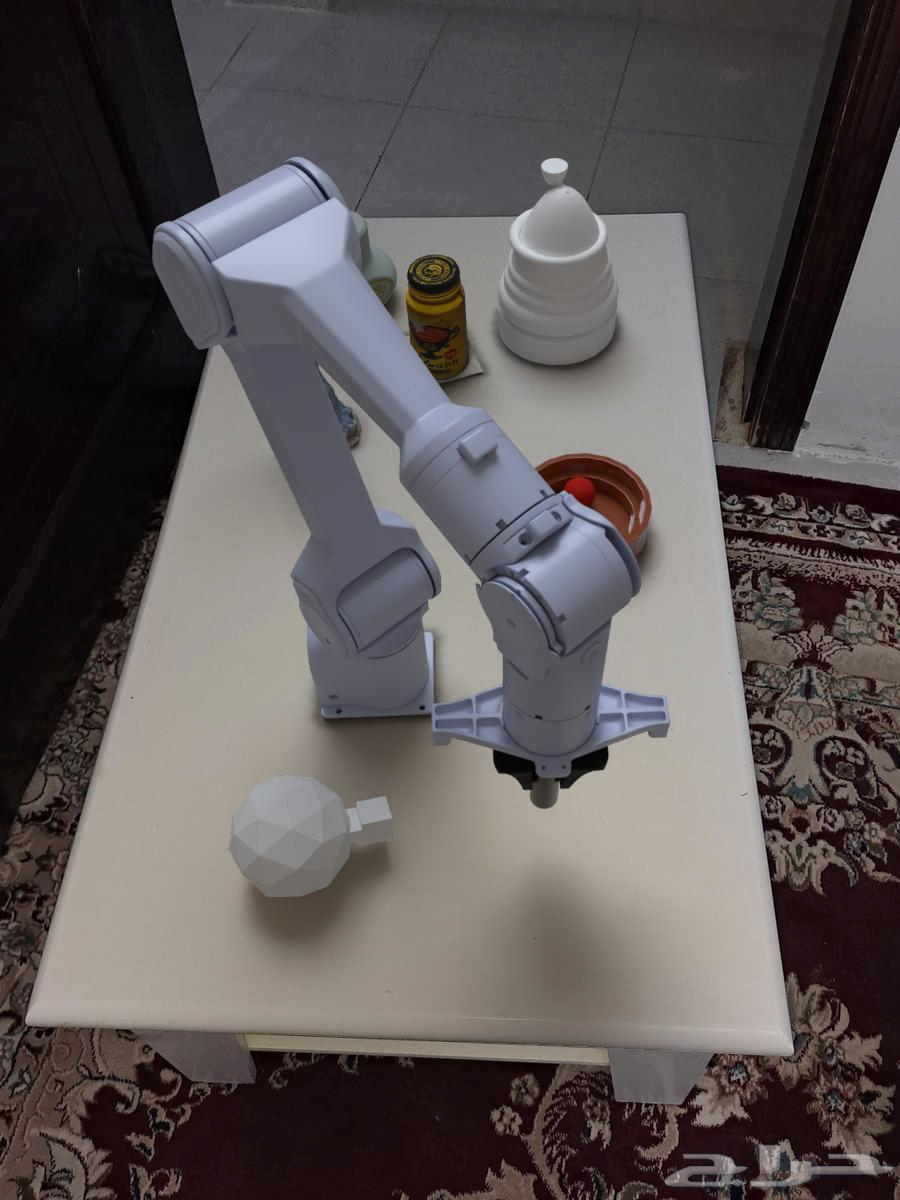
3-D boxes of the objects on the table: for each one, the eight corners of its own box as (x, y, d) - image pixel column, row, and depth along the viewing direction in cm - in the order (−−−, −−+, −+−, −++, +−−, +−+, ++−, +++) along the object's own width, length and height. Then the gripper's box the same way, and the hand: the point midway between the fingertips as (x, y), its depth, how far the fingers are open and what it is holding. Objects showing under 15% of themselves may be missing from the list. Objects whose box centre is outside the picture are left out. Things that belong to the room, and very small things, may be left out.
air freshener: (330, 340, 111) (316, 264, 102) (292, 302, 115) (275, 226, 106) (411, 299, 114) (403, 222, 106) (371, 264, 118) (360, 187, 110)
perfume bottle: (242, 936, 72) (404, 899, 74) (224, 853, 66) (399, 816, 69) (231, 845, 78) (380, 813, 81) (214, 763, 73) (374, 732, 76)
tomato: (563, 516, 94) (565, 495, 91) (561, 492, 96) (562, 471, 93) (595, 514, 94) (598, 494, 91) (592, 490, 95) (594, 469, 93)
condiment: (418, 390, 105) (408, 297, 95) (397, 339, 110) (385, 246, 100) (483, 373, 106) (480, 280, 96) (459, 323, 111) (454, 230, 101)
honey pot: (479, 307, 112) (475, 159, 98) (581, 275, 115) (592, 126, 100) (528, 379, 105) (531, 231, 91) (636, 343, 108) (656, 193, 93)
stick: (530, 809, 71) (533, 761, 64) (528, 783, 72) (531, 733, 65) (558, 808, 71) (564, 760, 64) (556, 782, 72) (561, 732, 65)
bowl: (519, 585, 90) (520, 559, 87) (512, 484, 97) (512, 456, 94) (654, 579, 90) (660, 553, 87) (637, 478, 97) (642, 450, 94)
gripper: (426, 744, 55) (440, 835, 66) (688, 735, 55) (658, 827, 66) (426, 637, 59) (439, 739, 70) (670, 628, 59) (644, 732, 70)
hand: (544, 776), depth 69 cm, fingers closed on stick, 2 cm apart
